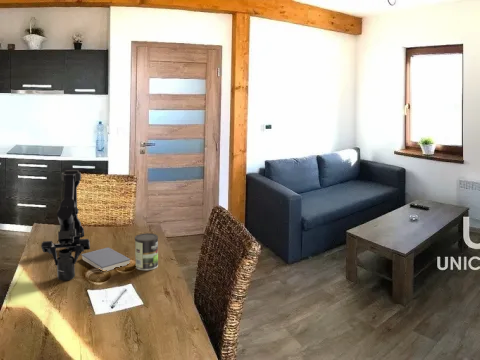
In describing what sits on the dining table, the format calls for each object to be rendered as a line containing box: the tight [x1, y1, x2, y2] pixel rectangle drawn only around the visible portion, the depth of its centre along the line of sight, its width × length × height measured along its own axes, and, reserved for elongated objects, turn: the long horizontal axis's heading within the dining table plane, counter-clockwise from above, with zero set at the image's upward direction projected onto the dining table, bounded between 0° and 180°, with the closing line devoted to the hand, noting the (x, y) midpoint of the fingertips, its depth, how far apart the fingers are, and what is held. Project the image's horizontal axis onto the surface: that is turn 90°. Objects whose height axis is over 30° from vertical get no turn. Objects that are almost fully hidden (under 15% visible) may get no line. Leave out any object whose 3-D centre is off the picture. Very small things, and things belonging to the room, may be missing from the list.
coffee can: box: [134, 233, 159, 271], centre depth 191 cm, size 10×10×14 cm
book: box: [80, 246, 131, 272], centre depth 195 cm, size 20×14×3 cm
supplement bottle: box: [56, 248, 76, 282], centre depth 176 cm, size 7×7×12 cm
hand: (65, 264), depth 174 cm, fingers closed on supplement bottle, 7 cm apart
